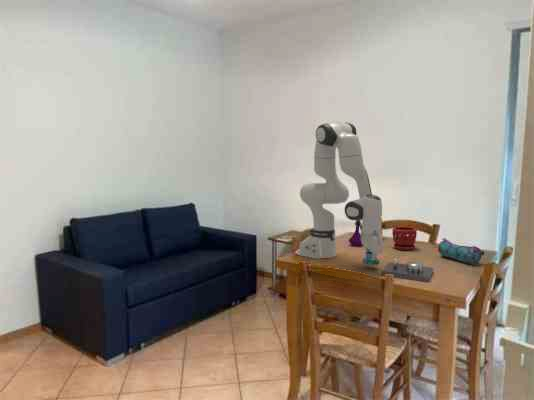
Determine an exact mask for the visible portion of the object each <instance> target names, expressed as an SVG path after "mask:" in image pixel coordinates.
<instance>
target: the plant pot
mask: <svg viewBox="0 0 534 400" xmlns="http://www.w3.org/2000/svg"><path fill="white" fill-rule="evenodd" d="M417 231H418V230H417V228H416V227H410V226H409V227H408V226H396V227H393V228H392V240H393V243H394V244H393V247H394V248H395V249H397V250H401V251H412V250H414V249H415V248H416V245H415V243H416V239H417V234H418V233H417Z"/></svg>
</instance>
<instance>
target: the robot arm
mask: <svg viewBox="0 0 534 400" xmlns="http://www.w3.org/2000/svg"><path fill="white" fill-rule="evenodd" d="M357 133H358V132H357V128H356V127H355V125H354V124H353V123H350V122H331V123H323V124H320V125H318V126H317V128H316V129H315V139H316V141H315V144H314V145H315V147H314V154H313V155H314V156H313V161H314V163H313V171H314V173H315V174H316V175H317V176H318V177H320V178H323V179H324V180H325V182H324V183H320V182H319V183H318V182H315V183H307V184H303V185H302V186H301V187H300V191H299V196H300V199H301V201H302V203H304V204H306V206H307V207H309V209H310V211H311V213H312V219H313V222H312V223H313V227H312V228H311V229H310V230H309V232H308V233H309V234H310V235H308V236H307V237H306V238H304V239H303V240H302V241H301V242H300V243H299V244H300V245H299V249H297V250H295V253H294V254H295V255H296V254H297V256H301V257H307V258H310V259H311V258H312V259H317V260H319V259H330V258H335V257H337V255H338V254H337V251H336V243H335V239H336V229H335V215H334V213H333V212H331V211H330V210H328V209H326V208H324V207H323V206H324V205H325V204H326V205H332V204H333V205H337V204H342V203H345V202H347V201H348V199H349V196H350V192H349V188H348V186H347V185H346V184H345V183H343V182H342V181H341V179H340V178H339V176H338V174H337V173H338V172H337V169H336V168H337V167H336V166H337V165H336V157H337V156H336V153H337V152H336V151H338V160H339V168H340V170H341V171H342V172H343V173H344V174H345V175H347V176H348V177H350V178H351V179H354V181H355V183H356V186H357V190H358V195H359V198H358V199H355V200H351V201H349V202H347V203H346V204H345V206H344V215H345V217H346V219H348V220H349V221H356V220H361V222H362V224H361V225H360V227H359V231H360V235H361V242H362V245H364V247H365V253H366V252H368V251H372V256H371V259H372V260H375V259H376V258H377V257H376V255H378V254H379V255H380V254H382V253H383V238H382V236H381V237H380V236H379V234H381V235H382V229H383V228H382V216H383V201H382V199H381V197H379V196H378V195H375V194H373V193H372V188H371V187H372V186H371V183H370V178H369V174H368V171H367V169H366V167H365V164H364V159H363V152H362V146H361V142H360V139H359V136H358V135H357Z"/></svg>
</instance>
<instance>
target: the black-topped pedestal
mask: <svg viewBox="0 0 534 400" xmlns="http://www.w3.org/2000/svg"><path fill="white" fill-rule="evenodd" d="M385 227H386V223H382V229H383V228H385ZM379 236H380V237H381V238H382V233H381V234H379Z"/></svg>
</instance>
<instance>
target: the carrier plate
mask: <svg viewBox="0 0 534 400" xmlns="http://www.w3.org/2000/svg"><path fill="white" fill-rule="evenodd" d="M398 260H399V259H398V258H393V261H390V262H388V263H387V264H386V265H385V266H384V267H383V268H382V269H381V271H380V275H381V276H385V274H393V275H394V276H395V277H394V278H399V279H406V280H413V281H419V282H425V283H428V282H429V281H430V279H431V278H432V276H433V274H434V267H430V266H429V267H428V266H425V264H424V263H423V262H422V263H421V262H419V261H406V262H405V263H400V262H398Z"/></svg>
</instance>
